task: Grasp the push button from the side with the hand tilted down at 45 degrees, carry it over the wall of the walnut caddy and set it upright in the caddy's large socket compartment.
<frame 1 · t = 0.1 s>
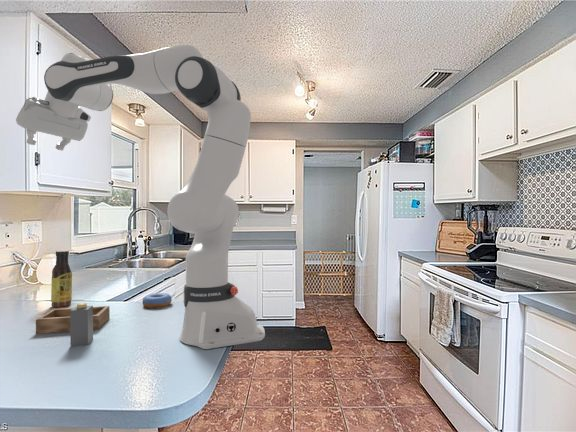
hand: (45, 146, 110), 54 cm above the worktop, tool tilted 30°, fingers open, 8 cm apart
sauce bottle: (61, 306, 128), on the worktop
caddy: (75, 325, 105), on the worktop
doughnut: (157, 306, 128), on the worktop
push button: (82, 342, 91), on the worktop
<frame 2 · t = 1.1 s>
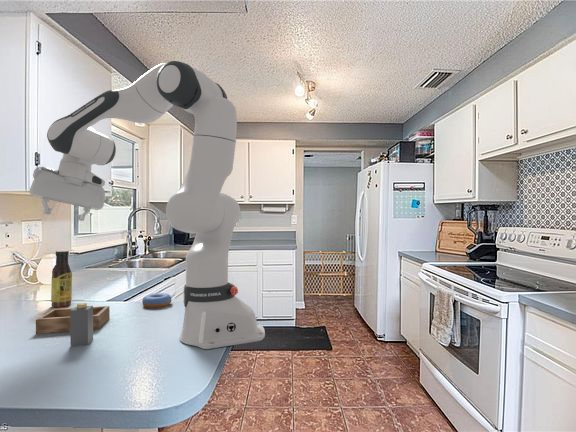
hand: (64, 217, 109), 32 cm above the worktop, tool pointing down, fingers open, 8 cm apart
nothing on the worktop moved.
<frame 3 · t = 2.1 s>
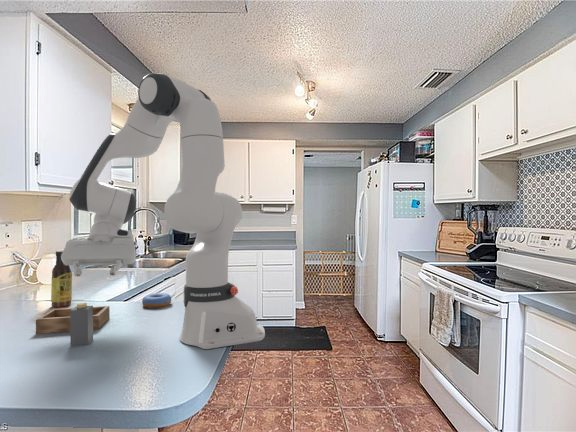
hand: (95, 274, 103), 15 cm above the worktop, tool tilted 45°, fingers open, 8 cm apart
nothing on the worktop moved.
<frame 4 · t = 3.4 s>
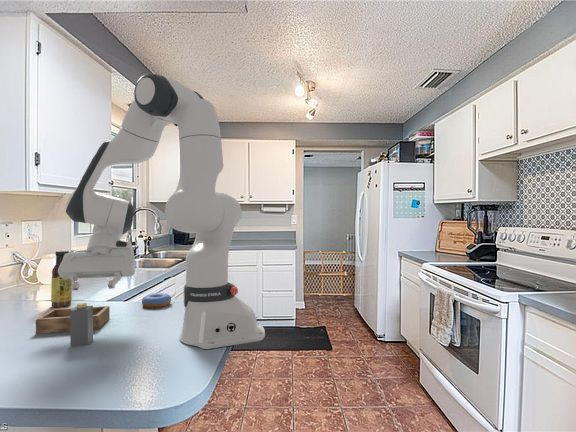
hand: (93, 288, 99), 12 cm above the worktop, tool tilted 45°, fingers open, 8 cm apart
nothing on the worktop moved.
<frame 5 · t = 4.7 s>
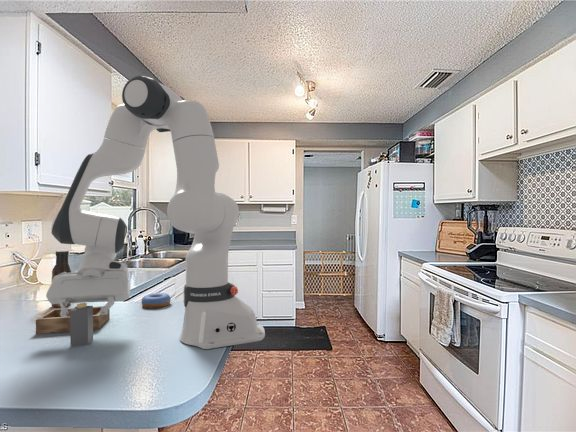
hand: (83, 314, 92), 7 cm above the worktop, tool tilted 45°, fingers open, 8 cm apart
nothing on the worktop moved.
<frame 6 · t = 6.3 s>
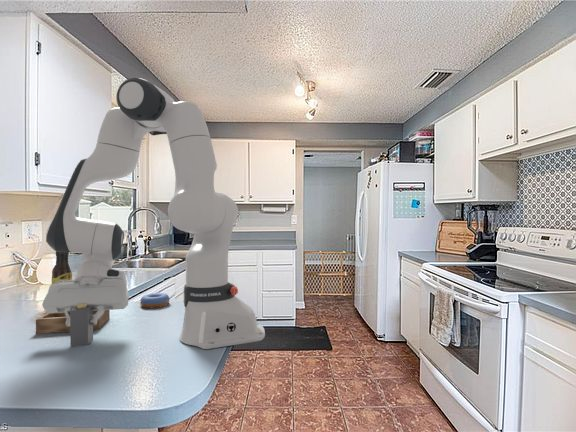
hand: (81, 324, 90), 5 cm above the worktop, tool tilted 45°, fingers closed on push button, 4 cm apart
push button: (82, 342, 91), on the worktop, touching gripper
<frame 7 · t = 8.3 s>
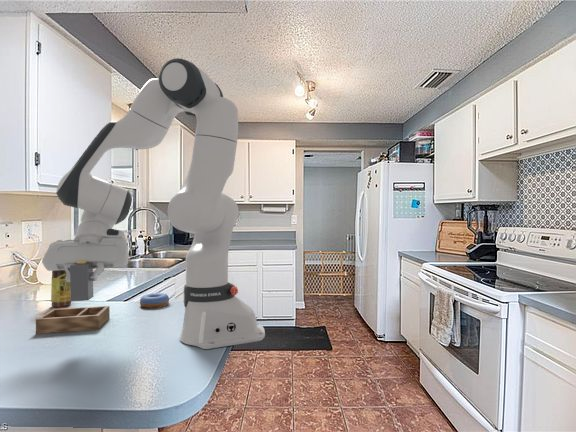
hand: (81, 280, 90), 16 cm above the worktop, tool tilted 45°, fingers closed on push button, 4 cm apart
push button: (82, 298, 90), point 11 cm above the worktop, touching gripper
when the fingers open (7 cm above the worktop, at t = 13.8 s): push button drops 1 cm, resting on caddy.
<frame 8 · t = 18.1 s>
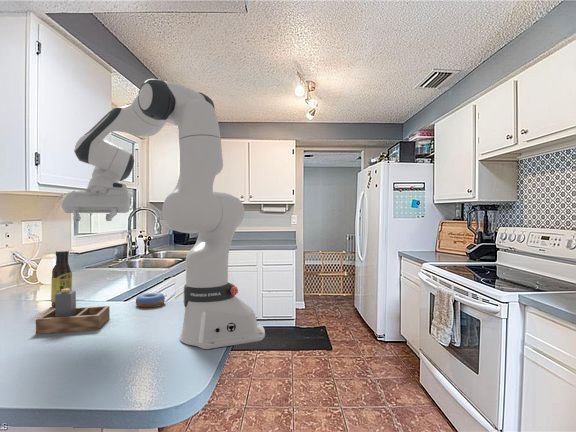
hand: (92, 219, 113), 31 cm above the worktop, tool tilted 45°, fingers open, 8 cm apart
doughnut: (150, 305, 128), on the worktop
push button: (66, 322, 104), point 1 cm above the worktop, touching caddy
everything else where it was.
at the end: push button inside the target area on the caddy (0.4 cm from its centre), point 1.0 cm above the caddy's base; push button tilted 0°; the gripper is holding nothing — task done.
